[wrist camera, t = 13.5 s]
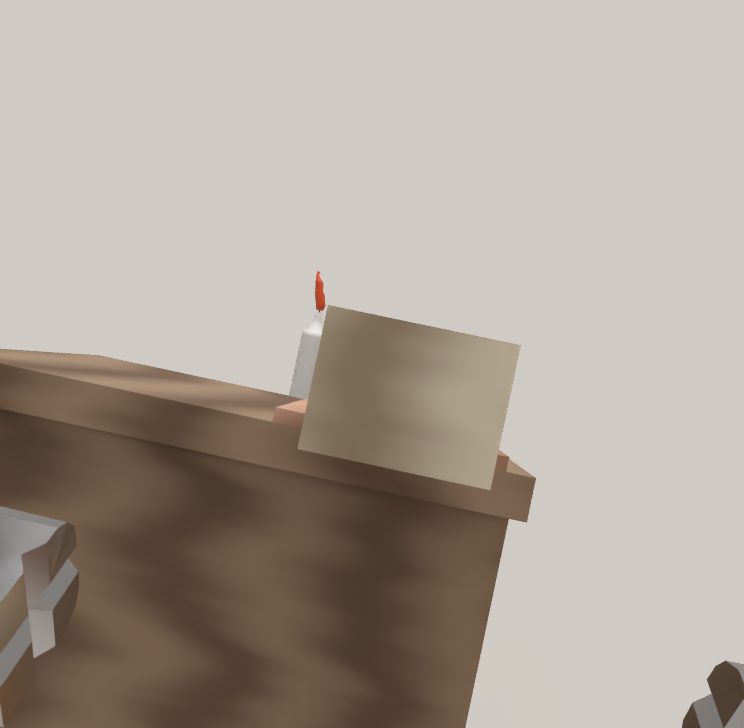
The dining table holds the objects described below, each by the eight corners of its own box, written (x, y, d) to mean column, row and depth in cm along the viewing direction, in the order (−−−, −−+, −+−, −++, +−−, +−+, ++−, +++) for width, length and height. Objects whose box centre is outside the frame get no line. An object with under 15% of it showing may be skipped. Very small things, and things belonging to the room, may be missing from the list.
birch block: (297, 448, 14) (329, 297, 14) (355, 401, 38) (367, 346, 38) (490, 490, 14) (522, 337, 14) (426, 417, 38) (438, 361, 38)
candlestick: (147, 755, 46) (256, 246, 47) (169, 679, 57) (258, 265, 58) (306, 774, 48) (409, 282, 48) (298, 696, 59) (383, 294, 59)
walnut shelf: (-262, 1093, 23) (-95, 328, 24) (3, 802, 39) (101, 346, 40) (374, 1252, 23) (539, 463, 23) (381, 890, 39) (478, 427, 39)
